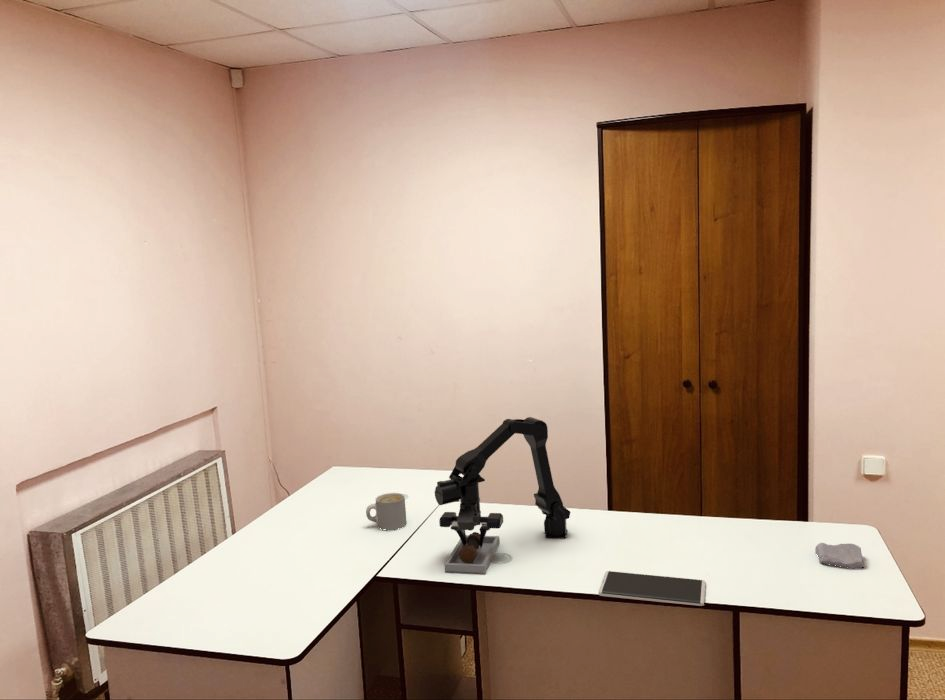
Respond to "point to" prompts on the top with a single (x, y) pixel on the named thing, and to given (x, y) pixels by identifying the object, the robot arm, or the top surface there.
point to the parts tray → (480, 561)
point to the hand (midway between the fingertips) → (473, 546)
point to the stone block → (840, 555)
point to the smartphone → (653, 588)
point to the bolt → (470, 548)
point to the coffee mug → (389, 511)
